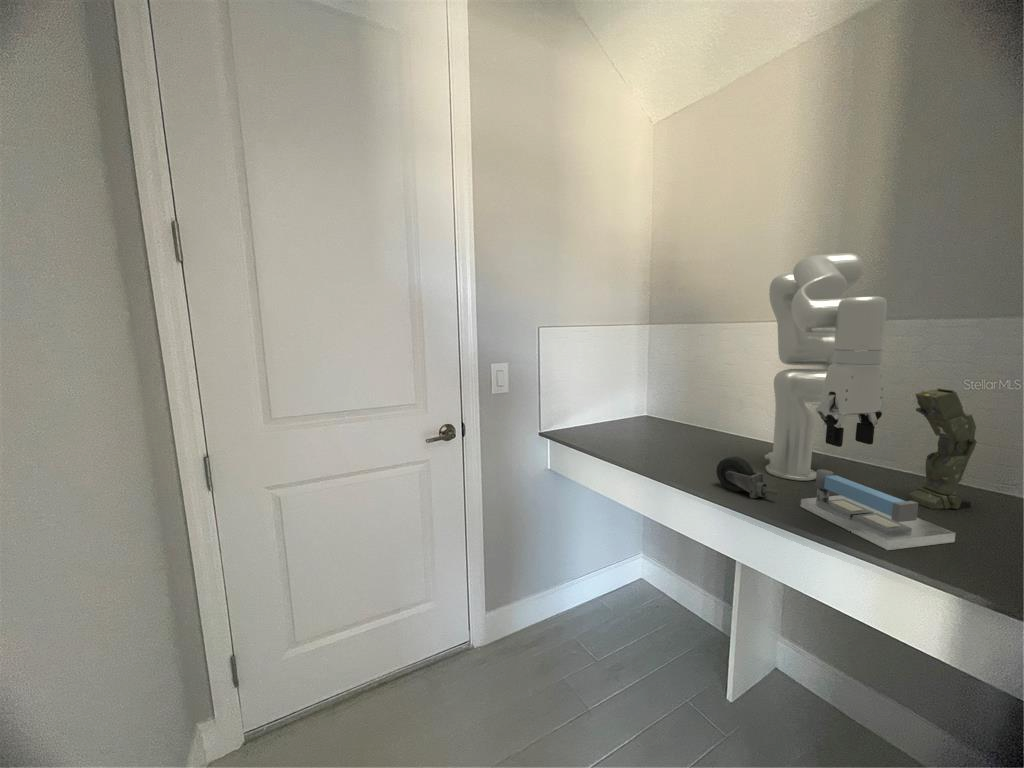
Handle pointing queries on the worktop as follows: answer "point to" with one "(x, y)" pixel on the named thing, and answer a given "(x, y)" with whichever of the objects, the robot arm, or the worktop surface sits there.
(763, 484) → the caster wheel
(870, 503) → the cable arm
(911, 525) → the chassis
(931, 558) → the worktop surface
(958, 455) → the mechanical leg
